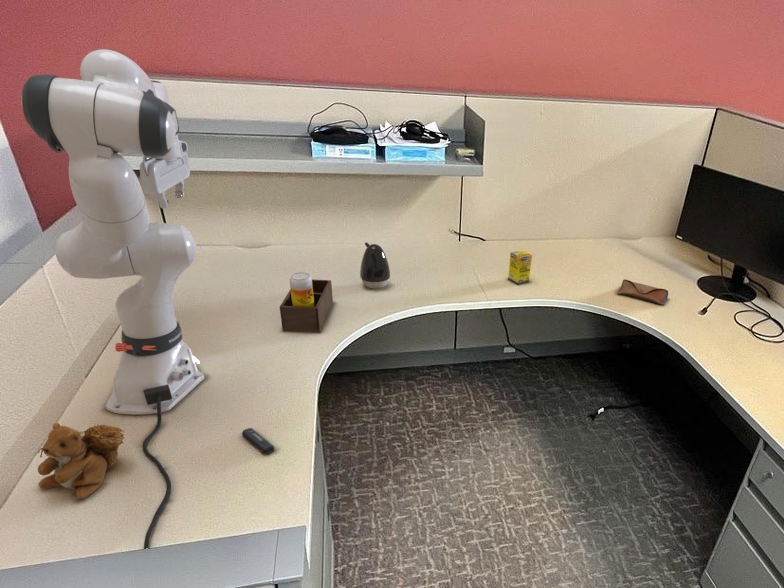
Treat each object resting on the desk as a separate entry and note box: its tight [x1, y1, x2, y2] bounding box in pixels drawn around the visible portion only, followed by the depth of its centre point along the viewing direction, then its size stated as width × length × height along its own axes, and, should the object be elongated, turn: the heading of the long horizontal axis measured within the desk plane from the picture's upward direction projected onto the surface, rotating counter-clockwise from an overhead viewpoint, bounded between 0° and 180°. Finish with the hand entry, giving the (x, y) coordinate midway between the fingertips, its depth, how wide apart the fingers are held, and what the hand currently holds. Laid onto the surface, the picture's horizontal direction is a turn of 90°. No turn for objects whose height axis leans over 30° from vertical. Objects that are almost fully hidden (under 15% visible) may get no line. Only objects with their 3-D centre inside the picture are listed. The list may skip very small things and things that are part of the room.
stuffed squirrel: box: [37, 422, 125, 500], centre depth 107 cm, size 10×14×13 cm
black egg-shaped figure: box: [359, 241, 391, 290], centre depth 194 cm, size 10×10×15 cm
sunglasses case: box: [616, 278, 669, 306], centre depth 211 cm, size 18×7×7 cm
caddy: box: [279, 278, 334, 334], centre depth 173 cm, size 20×11×8 cm, turn 5°
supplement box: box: [507, 249, 533, 285], centre depth 211 cm, size 6×6×11 cm
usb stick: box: [241, 427, 275, 455], centre depth 123 cm, size 10×3×2 cm, turn 51°
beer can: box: [289, 271, 315, 307], centre depth 166 cm, size 6×6×15 cm
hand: (172, 202), depth 151 cm, fingers open, 8 cm apart
